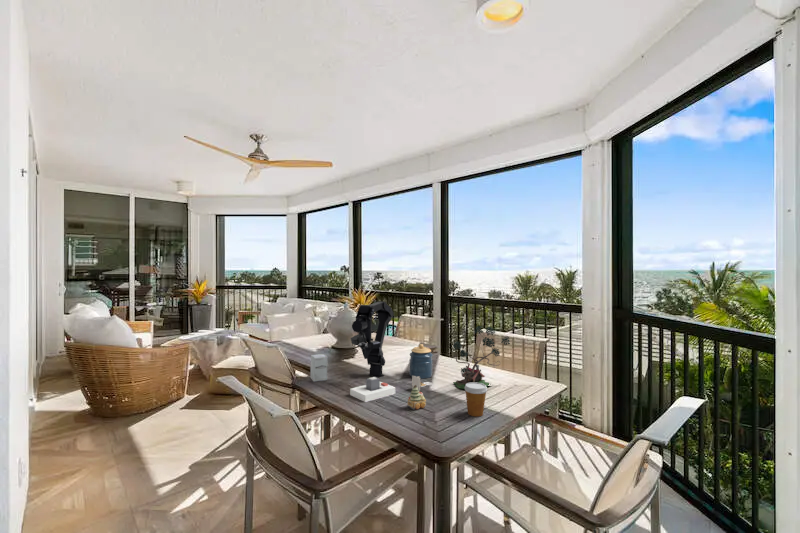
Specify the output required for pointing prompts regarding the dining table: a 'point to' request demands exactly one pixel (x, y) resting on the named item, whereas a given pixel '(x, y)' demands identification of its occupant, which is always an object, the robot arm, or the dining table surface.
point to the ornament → (416, 399)
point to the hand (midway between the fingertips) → (365, 358)
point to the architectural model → (417, 382)
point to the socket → (372, 392)
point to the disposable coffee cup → (475, 398)
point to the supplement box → (318, 367)
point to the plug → (372, 384)
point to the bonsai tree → (473, 374)
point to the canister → (421, 362)
